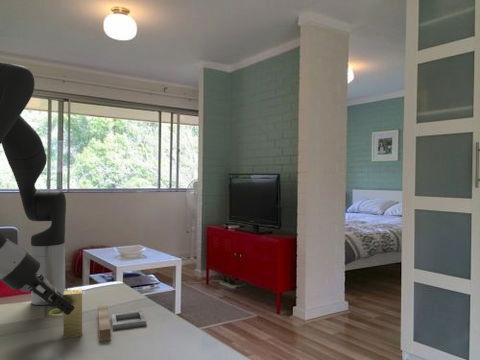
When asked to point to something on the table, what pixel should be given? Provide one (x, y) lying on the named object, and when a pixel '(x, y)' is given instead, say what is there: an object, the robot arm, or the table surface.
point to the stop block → (73, 314)
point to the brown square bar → (104, 323)
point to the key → (51, 313)
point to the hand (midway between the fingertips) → (67, 306)
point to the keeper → (128, 324)
